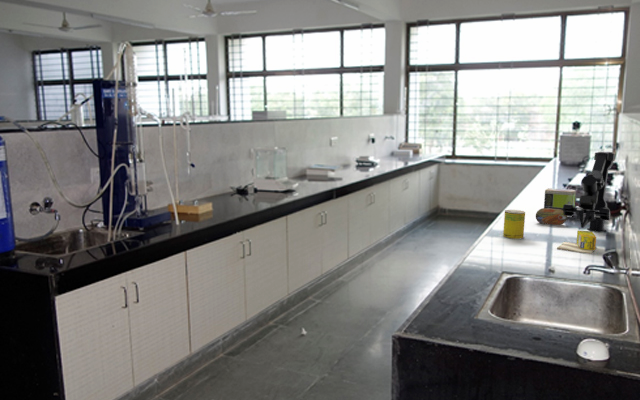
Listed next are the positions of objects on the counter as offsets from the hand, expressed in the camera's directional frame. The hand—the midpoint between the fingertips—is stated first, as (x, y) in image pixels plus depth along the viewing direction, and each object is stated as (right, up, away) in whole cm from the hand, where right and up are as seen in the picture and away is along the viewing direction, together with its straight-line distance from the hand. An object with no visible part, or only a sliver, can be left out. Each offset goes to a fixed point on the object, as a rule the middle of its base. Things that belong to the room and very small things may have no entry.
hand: (582, 227), depth 229 cm
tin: (+6, -1, +44) cm, 45 cm away
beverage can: (-24, -5, +17) cm, 30 cm away
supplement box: (+2, -4, +1) cm, 5 cm away
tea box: (+21, +3, +68) cm, 71 cm away
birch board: (-4, -9, -4) cm, 11 cm away
